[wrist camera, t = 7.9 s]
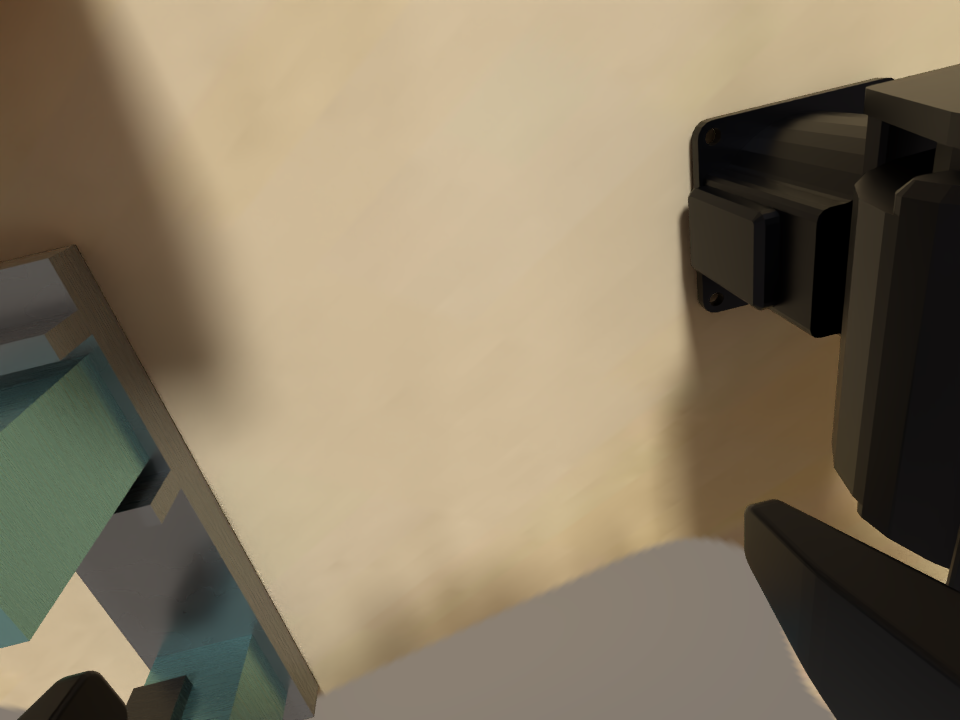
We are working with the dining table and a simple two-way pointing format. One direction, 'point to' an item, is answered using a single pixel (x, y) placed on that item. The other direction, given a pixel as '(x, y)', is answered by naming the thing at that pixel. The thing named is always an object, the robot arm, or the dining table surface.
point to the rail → (159, 525)
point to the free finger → (56, 482)
